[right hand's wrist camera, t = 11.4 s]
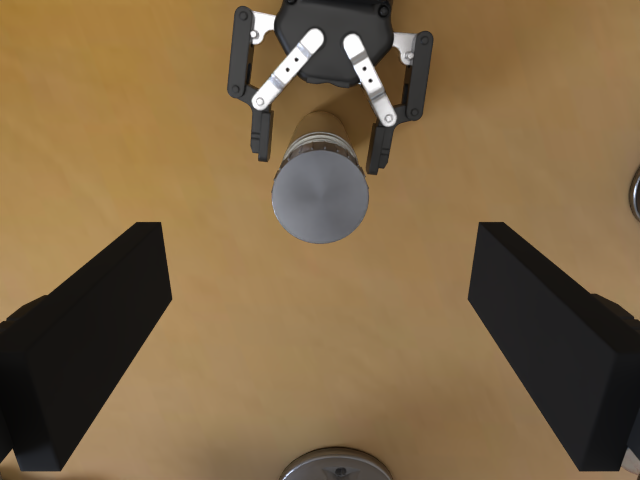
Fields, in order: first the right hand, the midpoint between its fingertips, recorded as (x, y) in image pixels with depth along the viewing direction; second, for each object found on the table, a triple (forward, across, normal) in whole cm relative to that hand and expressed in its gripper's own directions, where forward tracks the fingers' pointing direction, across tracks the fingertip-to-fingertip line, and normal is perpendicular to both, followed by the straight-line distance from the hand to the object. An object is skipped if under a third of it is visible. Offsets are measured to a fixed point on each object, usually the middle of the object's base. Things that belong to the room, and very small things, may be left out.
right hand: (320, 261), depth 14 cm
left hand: (+21, 0, -1) cm, 21 cm away
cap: (+7, 0, 0) cm, 7 cm away
